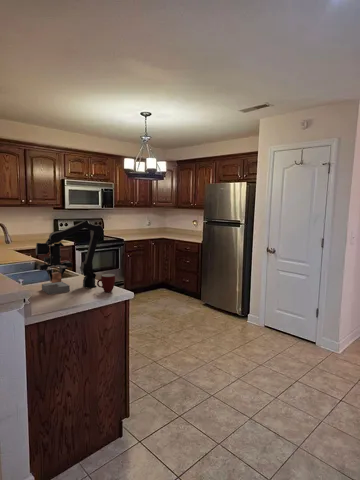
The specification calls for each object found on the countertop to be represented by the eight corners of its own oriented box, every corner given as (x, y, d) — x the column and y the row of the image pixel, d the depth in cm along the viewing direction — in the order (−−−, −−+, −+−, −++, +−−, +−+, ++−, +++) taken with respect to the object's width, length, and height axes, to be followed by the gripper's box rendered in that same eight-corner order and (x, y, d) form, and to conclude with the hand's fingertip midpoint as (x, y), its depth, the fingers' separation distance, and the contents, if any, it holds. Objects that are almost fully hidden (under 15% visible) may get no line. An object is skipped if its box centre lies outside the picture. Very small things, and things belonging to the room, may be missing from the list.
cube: (58, 280, 190) (58, 272, 189) (61, 281, 186) (61, 273, 185) (49, 281, 186) (49, 273, 186) (52, 283, 183) (52, 274, 182)
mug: (96, 293, 183) (96, 277, 181) (97, 290, 190) (97, 274, 189) (115, 293, 185) (115, 276, 184) (114, 289, 193) (115, 273, 192)
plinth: (61, 286, 195) (61, 281, 195) (69, 291, 186) (69, 285, 186) (41, 289, 187) (41, 284, 187) (48, 294, 178) (48, 288, 178)
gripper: (65, 250, 196) (65, 275, 198) (34, 253, 184) (34, 279, 186) (72, 253, 188) (73, 278, 190) (40, 255, 176) (40, 283, 177)
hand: (55, 279), depth 186 cm, fingers closed on cube, 5 cm apart
